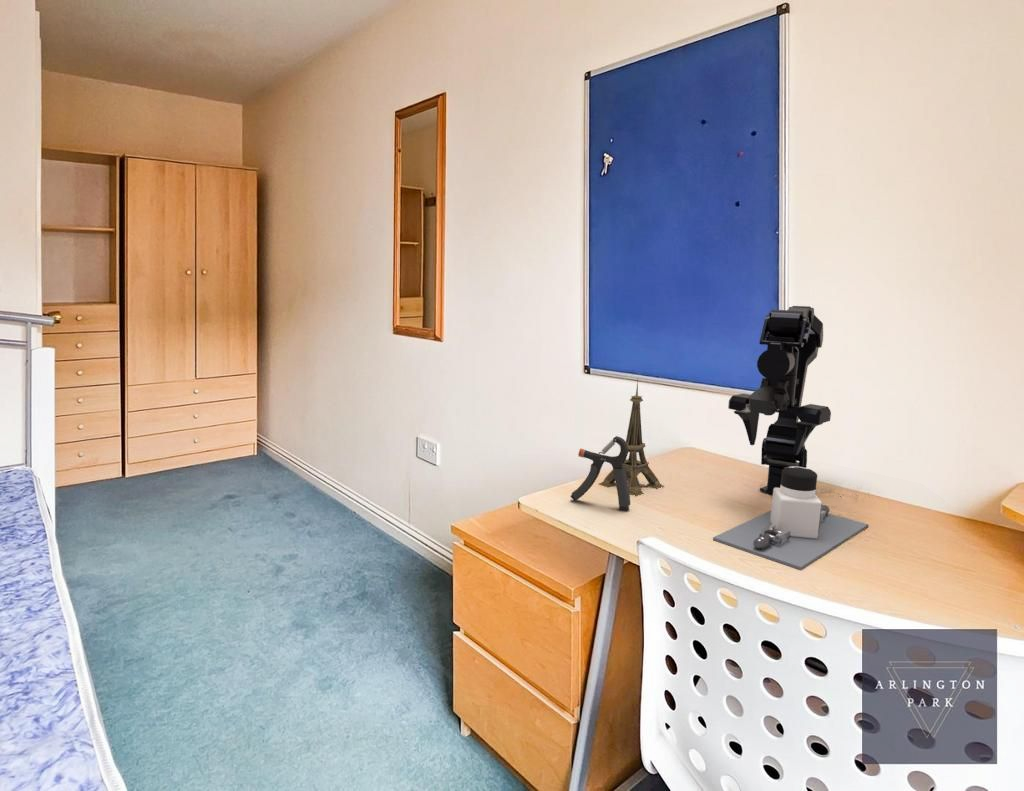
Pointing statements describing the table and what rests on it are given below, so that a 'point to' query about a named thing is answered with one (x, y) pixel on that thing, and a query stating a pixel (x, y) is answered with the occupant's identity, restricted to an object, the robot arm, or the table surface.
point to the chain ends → (779, 533)
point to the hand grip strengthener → (617, 469)
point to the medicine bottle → (797, 503)
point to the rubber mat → (792, 540)
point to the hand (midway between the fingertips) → (773, 449)
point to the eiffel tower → (634, 454)
